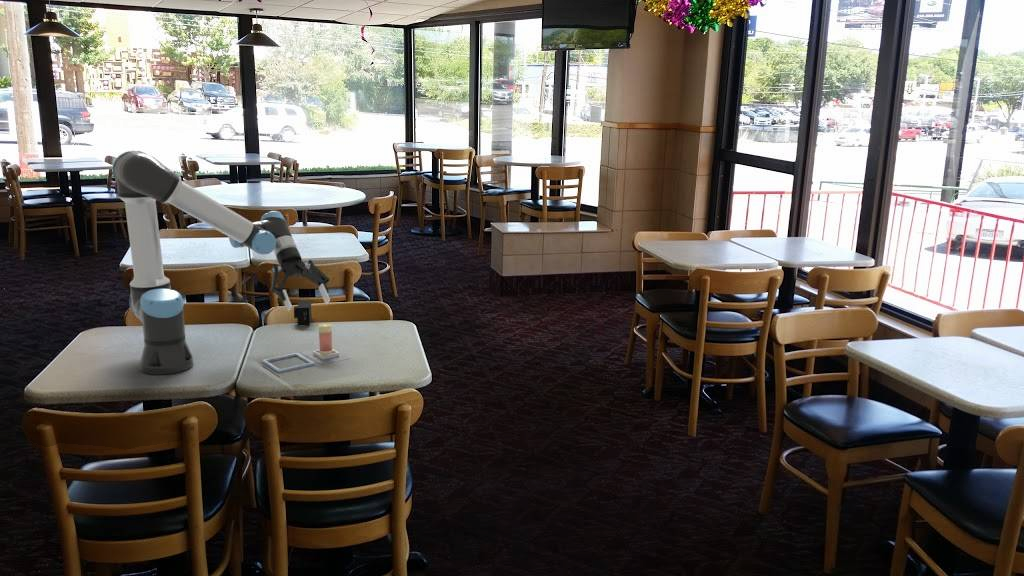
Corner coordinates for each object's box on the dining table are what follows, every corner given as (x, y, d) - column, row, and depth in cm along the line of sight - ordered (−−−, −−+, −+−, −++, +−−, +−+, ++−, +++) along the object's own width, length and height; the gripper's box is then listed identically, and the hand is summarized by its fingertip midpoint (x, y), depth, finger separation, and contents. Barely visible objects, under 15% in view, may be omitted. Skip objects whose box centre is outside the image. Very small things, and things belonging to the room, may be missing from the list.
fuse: (323, 358, 251) (322, 328, 249) (317, 354, 254) (315, 325, 252) (335, 355, 254) (334, 325, 251) (328, 352, 257) (327, 322, 254)
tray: (278, 377, 238) (278, 370, 238) (262, 366, 247) (261, 360, 246) (314, 369, 246) (314, 362, 245) (297, 359, 254) (297, 352, 254)
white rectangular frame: (322, 369, 246) (322, 360, 245) (301, 356, 256) (301, 349, 256) (351, 362, 253) (350, 354, 252) (329, 351, 263) (329, 343, 262)
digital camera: (296, 318, 299) (296, 300, 297) (311, 317, 300) (310, 299, 298) (294, 326, 289) (293, 307, 287) (309, 325, 290) (309, 307, 288)
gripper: (317, 254, 276) (339, 305, 269) (247, 263, 260) (269, 317, 253) (323, 242, 271) (346, 293, 264) (253, 250, 255) (276, 305, 248)
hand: (309, 305), depth 258 cm, fingers open, 13 cm apart
